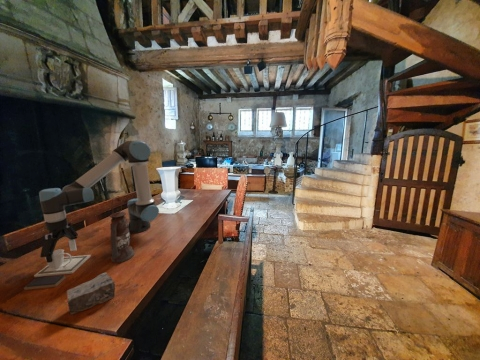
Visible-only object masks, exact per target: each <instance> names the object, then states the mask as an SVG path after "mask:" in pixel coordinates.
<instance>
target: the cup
mask: <svg viewBox="0 0 480 360" xmlns="http://www.w3.org/2000/svg"><path fill="white" fill-rule="evenodd" d="M64 251H65V249H62V248H58V249H54V251H53V254H54V255H55V260H56V264H57V266H56V267H52V268H51V270H56V269H59V268H61V267H64V266H66V265H67V264H69V263H70V262H71V260H72V257H71V256H72V255H71V253H68V252H64ZM49 253H50V252H49ZM65 255H66V256H67V257H70V262H69V263H67V264H66V265H63V259H64V257H65ZM44 260H45V261H46V262H47V260H46V257H44Z"/></svg>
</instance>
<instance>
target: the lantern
mask: <svg viewBox="0 0 480 360" xmlns="http://www.w3.org/2000/svg"><path fill="white" fill-rule="evenodd" d="M116 198H119V202H120V210H119V211H117V212H114V207H113V204H114V203H113V202H114V199H116ZM122 205H123V204H122V200H121V197H120V196H118V195H117V196H115V197H113V198H112V200H111V211H112V213H111V214H110V215H109V217H110V218H111V219H110V245H111V246H110V249H111V254H112V256H111V257H110V259H111V262H112V263H123V262H127V261H128V260H130V259H132V258H133V257H134V256H135V250H133V247H132V246H131V245H130V244H131V232H129V228H128V224H129V222H128V219H127V217H126V214H127V212H125V211H122V210H123V209H122V208H123V207H122Z"/></svg>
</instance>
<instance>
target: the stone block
mask: <svg viewBox="0 0 480 360" xmlns="http://www.w3.org/2000/svg"><path fill="white" fill-rule="evenodd" d="M115 291H116V283H115V280H113V278H112V276H110V275H109V274H108V273H107V272H106V271H105V272H103V273H99V274H98V275H96V276H95V278H92V279H90V280H88V281H86V282H83V283H80V284H78V285H76V286H75V287H72V288H70V289H67V290H66V297H67V298H66V299H67V304H68V305H67V306H68V310H69V315H71V316H72V315H74V314H77V313H79V312H83V311H86V310H89V309H92V308H93V307H95V306H96V305H100V304H103V303H105V302H107V301H109V300H111V299H113V298H114V297H115V296H116V295H115Z"/></svg>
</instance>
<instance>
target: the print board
mask: <svg viewBox="0 0 480 360" xmlns="http://www.w3.org/2000/svg"><path fill="white" fill-rule="evenodd" d="M71 257H72V260H71V262H70V257H69V256H64V259H63V265H66V264H67V263H69V262H70V263H69V264H67V265H66V266H64V267H61V268H59V269H56V270H51V268H49V265H48V264H47V265H46V266H45V267H43V268H42V269H41V270H39V271H38V272H36V273H35V274H34V275H33V277H34V278H41V277H52V276H62V275H70V274H74V272H76V271H77V270H78V269H80V267H81V266H82V265H84V263H86V261H88V259H90V258H91V257H92V254H86V255H75V256H73V255H71Z"/></svg>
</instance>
